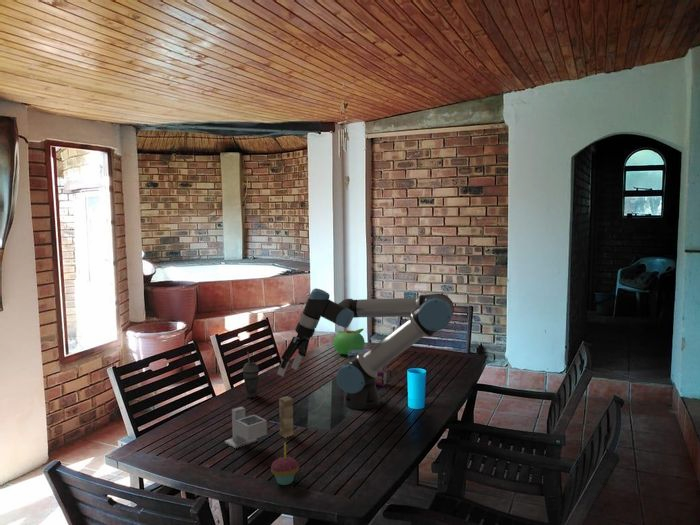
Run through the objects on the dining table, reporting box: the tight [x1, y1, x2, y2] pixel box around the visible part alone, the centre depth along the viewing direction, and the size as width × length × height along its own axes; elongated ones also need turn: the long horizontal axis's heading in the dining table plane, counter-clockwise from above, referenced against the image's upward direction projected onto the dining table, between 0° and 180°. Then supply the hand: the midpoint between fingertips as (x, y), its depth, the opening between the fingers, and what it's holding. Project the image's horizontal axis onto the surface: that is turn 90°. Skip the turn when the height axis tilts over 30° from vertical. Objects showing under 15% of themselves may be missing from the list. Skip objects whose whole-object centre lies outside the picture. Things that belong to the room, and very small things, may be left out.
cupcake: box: [270, 442, 300, 486], centre depth 160 cm, size 9×8×12 cm
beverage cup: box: [241, 351, 260, 399], centre depth 235 cm, size 7×7×20 cm
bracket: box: [224, 406, 268, 450], centre depth 185 cm, size 14×9×12 cm, turn 44°
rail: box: [278, 396, 294, 439], centre depth 193 cm, size 4×4×14 cm
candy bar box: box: [362, 347, 387, 387], centre depth 252 cm, size 11×5×16 cm, turn 68°
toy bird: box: [332, 328, 366, 356], centre depth 305 cm, size 18×17×15 cm
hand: (287, 371), depth 217 cm, fingers open, 13 cm apart
